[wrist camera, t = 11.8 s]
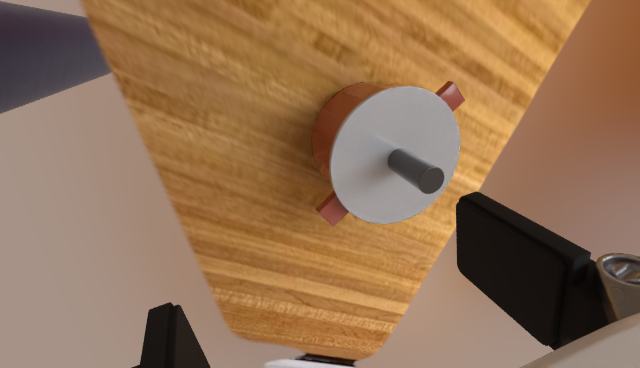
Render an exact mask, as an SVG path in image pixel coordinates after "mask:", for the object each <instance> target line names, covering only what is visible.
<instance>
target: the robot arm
mask: <svg viewBox="0 0 640 368" xmlns="http://www.w3.org/2000/svg"><path fill="white" fill-rule="evenodd" d="M456 232H457V266H458V268H459V270H460V272H461V273H462V274H463V275H464V276H465V277H466V278H467V279H468V280H469V281H471V282H472V283H473V284H474V285H475V286H476V287H477V288H479V289H480V290H481V291H482V292H483V293H484V294H486V295H487V296H488V297H489V298H490V299H491V300H492V301H493V302H495V303H496V304H497V305H498V306H499V307H500V308H501V309H502V310H504V311H505V312H506V313H507V314H508V315H509V316H510V317H512V318H513V319H514V320H515V321H516V322H517V323H518V324H520V325H521V326H522V327H523V328H524V329H525V330H526V331H528V332H529V333H530V334H531V335H532V336H533V337H534V338H536V339H537V340H538V341H539V342H540V343H542V344H543V345H545V346H548V345H549V346H550V347H551V348H552V349H553V350H554V351H553V352H551V353H549V354H547V355H545V356H543V357H541V358H539V359H537V360H535V361H533V362H531V363H529V364H527V365H525V366H523V367H521V368H640V257H639V256H635V255H631V254H624V253H610V254H605V255H603V256H601V257H599V258H598V260H597V261H596V262H595V261H593V260H591V259H590V255H591V252H589V251H587V250H585V249H583V248H581V247H579V246H578V245H576V244H574V243H572V242H570V241H568V240H567V239H565V238H563V237H561V236H559V235H557V234H556V233H554V232H552V231H550V230H548V229H546V228H544V227H543V226H541V225H539V224H537V223H535V222H533V221H531V220H530V219H528V218H526V217H524V216H522V215H520V214H518V213H517V212H515V211H513V210H511V209H509V208H507V207H505V206H504V205H502V204H500V203H498V202H496V201H494V200H493V199H491V198H489V197H487V196H485V195H483V194H482V193H479V192H473V193H470V194H468V195H465V196H462V197H461V198H460V199H459V202H458V203H457V204H456ZM132 368H210V365H209V364H208V361H207V359H206V357H205V355H204V353H203V351H202V349H201V347H200V345H199V343H198V341H197V338H196V337H195V334H194V332H193V330H192V328H191V326H190V324H189V322H188V320H187V318H186V316H185V314H184V312H183V310H182V308H181V306H180V305H176V306H173V304H172V303H170V302H169V303H166V304H164V305H161V306H158V307H155V308H153V309H150V310H149V312H148V318H147V324H146V331H145V337H144V343H143V349H142V355H141V362H140V365H138V366H135V367H132Z"/></svg>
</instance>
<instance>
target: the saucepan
mask: <svg viewBox="0 0 640 368" xmlns="http://www.w3.org/2000/svg"><path fill="white" fill-rule="evenodd" d="M390 87H395V86H392V85H388V84H384V83H372V82H367V83H365V82H362V83H359V84H355V85H352V86H349V87H347V88H345V89H343V90H342V91H340V92H339V93H337V94H336V95H335V96H333V97H332V98H331V99H330V100H329V101H328V102H327V104H326V105H325V106H324V107H323V109H322V110H321V112H320V114H319V116H318V118H317V120H316V123H315V125H314V129H313V134H312V152H313V157H314V160H315V163H316V165H317V167H318V170H319V172H320V173H321V174H322V176H323V177H324V178H325V179H326V180H327V181H328V182H329V184H330V185H331V186H332V184H331V180H330V173H329V159H330V152H331V148H332V144H333V141H334V139H335V136H336V134H337V132H338V130H339V128H340V126H341V124H342V123H343V121H344V120H345V118H346V117H347V116H348V114H349V113H350V112H351V111H352V110H353V109H354V108H355V107H356V106H357V105H358V104H359V103H361V102H362V101H363V100H365V99H366V98H368V97H369V96H371V95H372V94H374V93H376V92H378V91H381V90H384V89H387V88H390ZM435 94H436V95H438V96H439V97H440V98H442V99H443V100H444V101H445V102H446V103H447V105H448V106H449V107H450V109H451V110H452V112H453V111H454V110H455V109H456V108H458V107H459V106H460V105H461V104H462V103H463V102H464V101H465V99H464V98H463V96H462V94H461V93H460V91H459V89H458V88H457V86H456V84H455V83H454V82H450V81H448V82H447V83H446V84H445V85H444V86H443V87H442V88H440V89H439V90H438V91H437V92H436V93H435ZM316 210H317V211H318V213H319V214H320V215H321V216H322V217H323V218H325V219H326V220H327V221H328V222H329V223H330V224H331V225H332V226H335V225H336V224H337V223H338V222H339V221H340V220H341V219H342V218H343V217H344V216H345V215H346V214H347V213H348V212H349V211H348V210H347V209H346V208H345V207H344V206H343V205H342V204H341V202H340V201H339V199H338V198H337V196H336V194H335V192H334V191H333V192H332V193H331V194H330V195H329V196H328V197H327V198H326V199H325V200H324V201H323V202H322V203H321V204H320V205H319V206H318V207H317V208H316Z"/></svg>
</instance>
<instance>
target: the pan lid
mask: <svg viewBox="0 0 640 368" xmlns="http://www.w3.org/2000/svg"><path fill="white" fill-rule="evenodd" d="M459 152H460V133H459V128H458V124H457V121H456V118H455V116H454V114H453V112H452V110H451V109H450V107H449V106H448V105H447V103H446V102H445V101H444V100H443V99H442V98H440V97H439V96H438V95H436V94H435V93H433V92H431V91H429V90H427V89H423V88H420V87H416V86H395V87H390V88H387V89H384V90H381V91H378V92H376V93H374V94H372V95H371V96H369V97H368V98H366V99H365V100H363V101H362V102H361V103H359V104H358V105H357V106H356V107H355V108H354V109H353V110H352V111H351V112H350V113H349V114H348V116H347V117H346V118H345V120H344V121H343V123H342V124H341V126H340V128H339V130H338V132H337V134H336V136H335V139H334V141H333V144H332V148H331V152H330V159H329V173H330V180H331V184H332V187H333V190H334V192H335V194H336V196H337V198H338V199H339V201H340V202H341V204H342V205H343V206H344V207H345V208H346V209H347V210H348V211H349V212H350V213H351V214H353V215H354V216H356V217H358V218H359V219H362V220H364V221H367V222H371V223H377V224H390V223H397V222H400V221H404V220H406V219H409V218H411V217H413V216H415V215H417V214H419V213H420V212H422V211H423V210H425V209H426V208H427V207H429V206H430V205H431V204H432V203H433V202H434V201H435V200H436V199H437V198H438V197H439V196H440V195H441V193H442V192H443V191H444V190H445V188H446V186H447V185H448V183H449V182H450V180H451V178H452V176H453V173H454V171H455V168H456V165H457V162H458V158H459Z"/></svg>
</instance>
